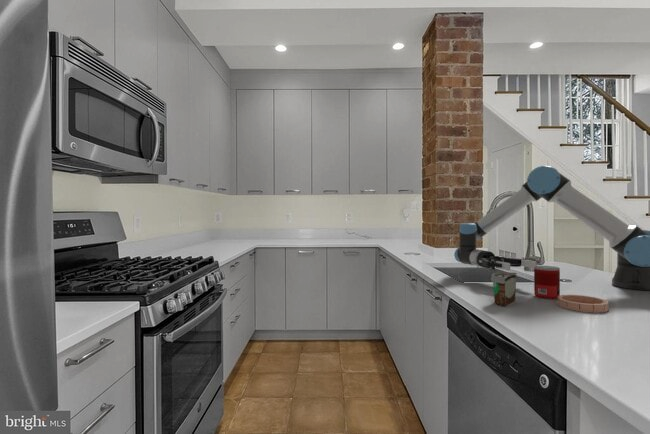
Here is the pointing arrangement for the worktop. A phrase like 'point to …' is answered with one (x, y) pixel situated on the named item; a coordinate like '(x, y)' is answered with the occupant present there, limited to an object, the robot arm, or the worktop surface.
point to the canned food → (547, 282)
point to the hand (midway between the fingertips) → (523, 265)
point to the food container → (504, 288)
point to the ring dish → (583, 303)
